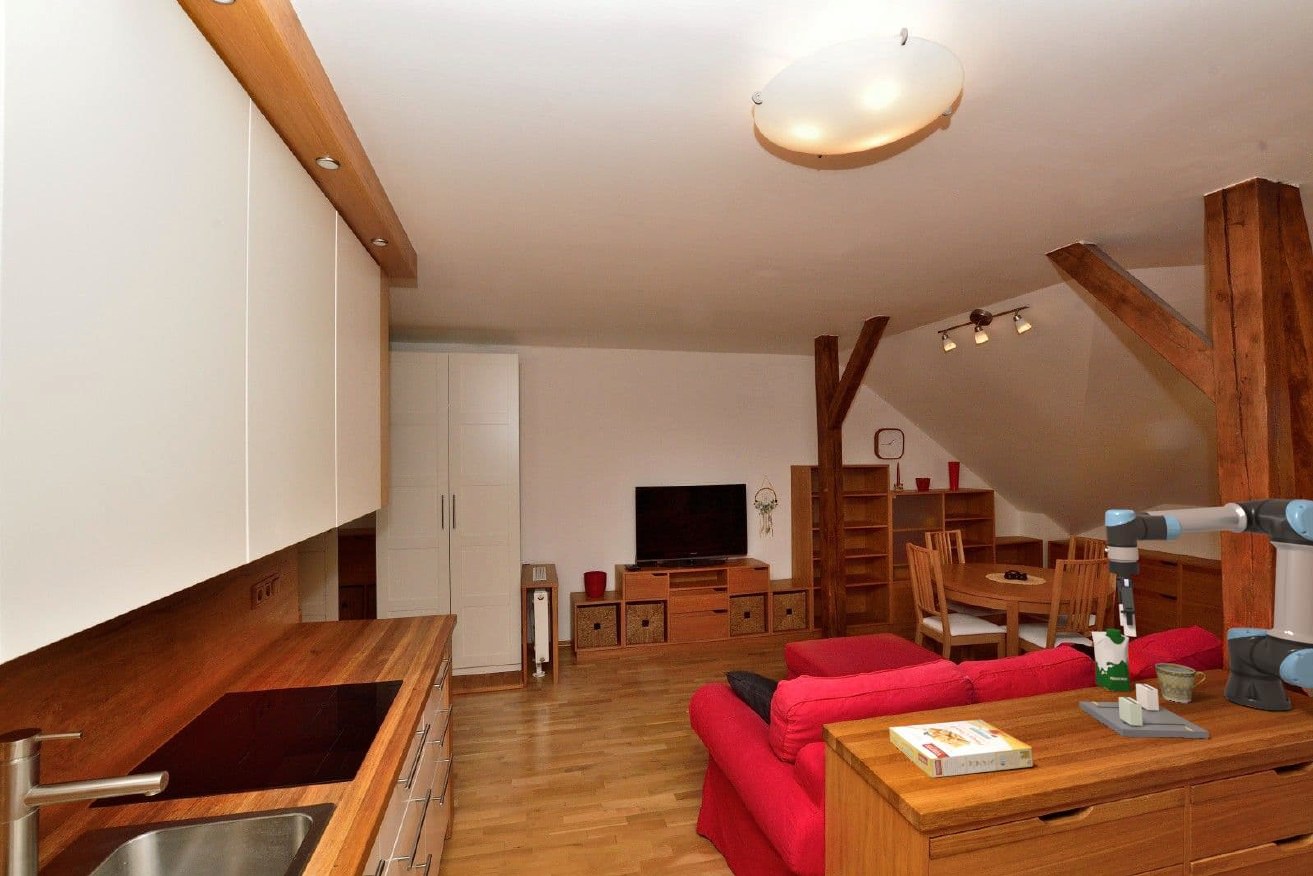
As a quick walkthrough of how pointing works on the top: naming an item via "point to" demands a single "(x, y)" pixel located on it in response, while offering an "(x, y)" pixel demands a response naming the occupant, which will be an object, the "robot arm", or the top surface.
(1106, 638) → the milk carton
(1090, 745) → the top surface
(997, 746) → the cereal box
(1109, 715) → the console
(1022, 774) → the top surface
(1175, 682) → the ceramic cup
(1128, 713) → the fader
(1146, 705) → the block
